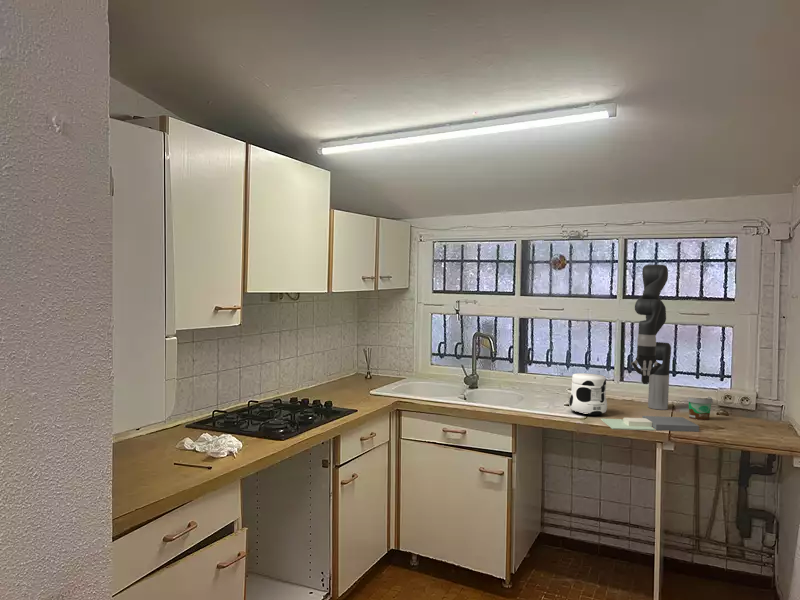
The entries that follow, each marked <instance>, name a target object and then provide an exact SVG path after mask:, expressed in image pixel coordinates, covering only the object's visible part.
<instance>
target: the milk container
mask: <svg viewBox="0 0 800 600" xmlns="http://www.w3.org/2000/svg"><path fill="white" fill-rule="evenodd" d="M606 391H607V378H606V376H605V375H602V374H598V373H597V374H596V373H583V372H582V373H581V372H580V373H573V374H572V376H571V392H570V397H569V401H568V405H569V409H570V410H571V411H572V410H573V411H576V412H583V413H588V415H587V416H599V415H603V414H605V413H606V412H607V409H608V401H607V397H606V396H607V395H606ZM573 411H572V412H573Z"/></svg>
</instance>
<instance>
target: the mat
mask: <svg viewBox="0 0 800 600" xmlns="http://www.w3.org/2000/svg"><path fill="white" fill-rule="evenodd" d="M623 419H624V418H622V419H621V418H600V420H601V421H602V422H603V423H604V424H606V425H607V426H608V427H610V429H612V430H630V431H634V430H635V431H654V430H655V429H654V428H652V427H645V426H628V425H627V424H625V423H624V422H623ZM655 431H656V430H655Z"/></svg>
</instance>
